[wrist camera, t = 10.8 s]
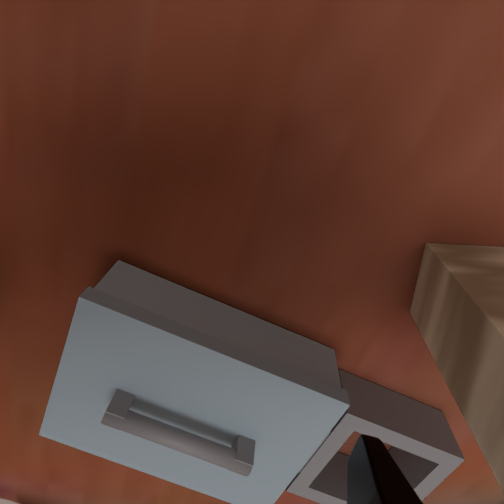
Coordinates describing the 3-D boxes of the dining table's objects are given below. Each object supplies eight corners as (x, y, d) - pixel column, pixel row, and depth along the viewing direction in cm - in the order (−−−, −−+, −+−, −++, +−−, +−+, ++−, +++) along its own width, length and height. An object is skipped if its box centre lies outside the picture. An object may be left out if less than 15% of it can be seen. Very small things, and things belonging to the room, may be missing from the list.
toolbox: (76, 379, 27) (21, 461, 21) (116, 255, 22) (60, 317, 17) (369, 489, 29) (390, 589, 24) (455, 397, 25) (505, 492, 19)
